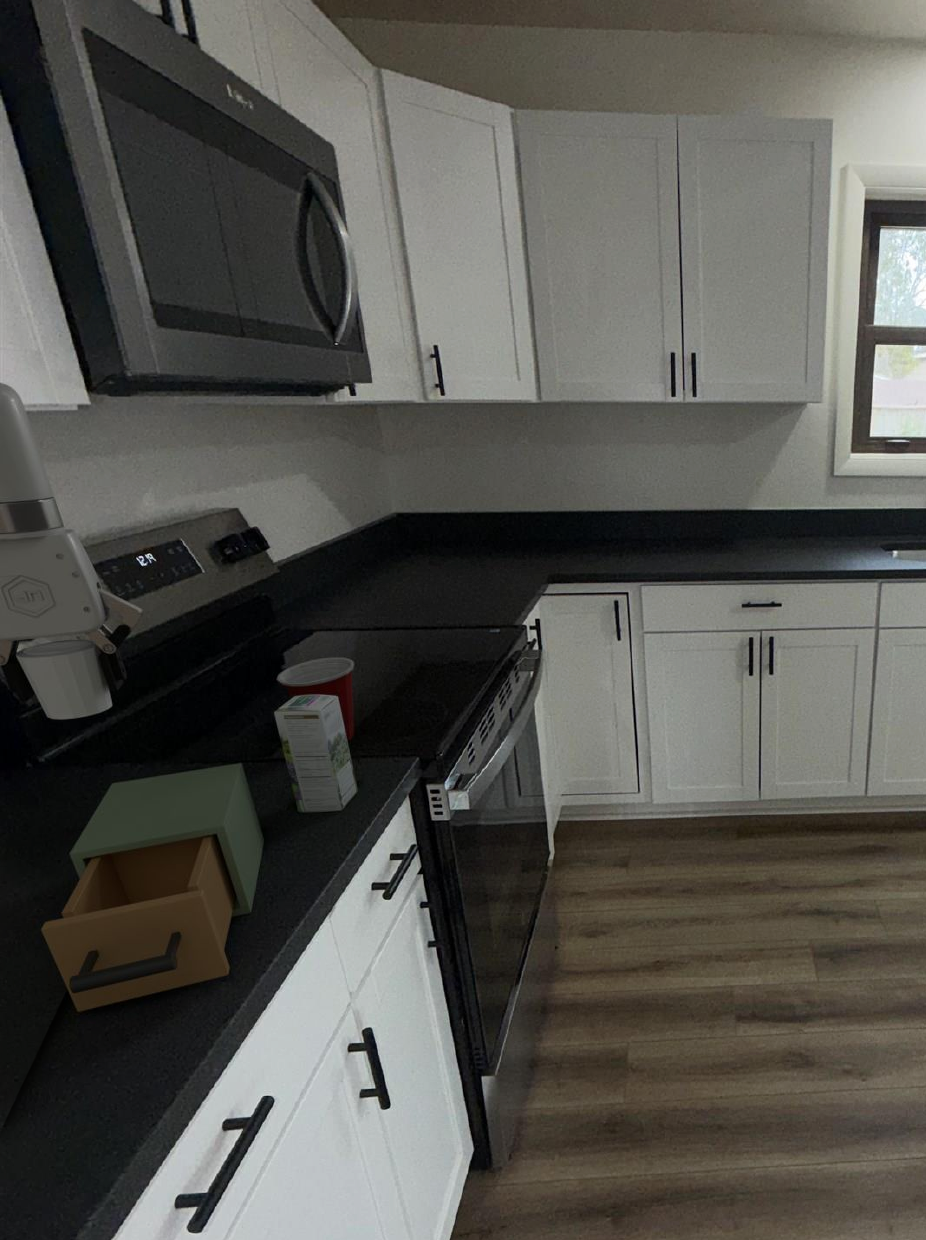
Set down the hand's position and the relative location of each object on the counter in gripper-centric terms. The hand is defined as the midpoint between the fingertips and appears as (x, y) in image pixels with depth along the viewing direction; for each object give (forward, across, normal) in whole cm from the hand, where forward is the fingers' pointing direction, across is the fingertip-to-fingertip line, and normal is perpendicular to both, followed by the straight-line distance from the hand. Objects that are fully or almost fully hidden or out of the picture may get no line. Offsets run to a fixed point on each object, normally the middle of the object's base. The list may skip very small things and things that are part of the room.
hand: (73, 690), depth 85 cm
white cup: (+2, 0, 0) cm, 2 cm away
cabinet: (+21, +7, -9) cm, 24 cm away
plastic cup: (+21, +21, +31) cm, 43 cm away
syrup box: (+22, +21, +7) cm, 31 cm away
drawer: (+21, +6, -24) cm, 32 cm away
